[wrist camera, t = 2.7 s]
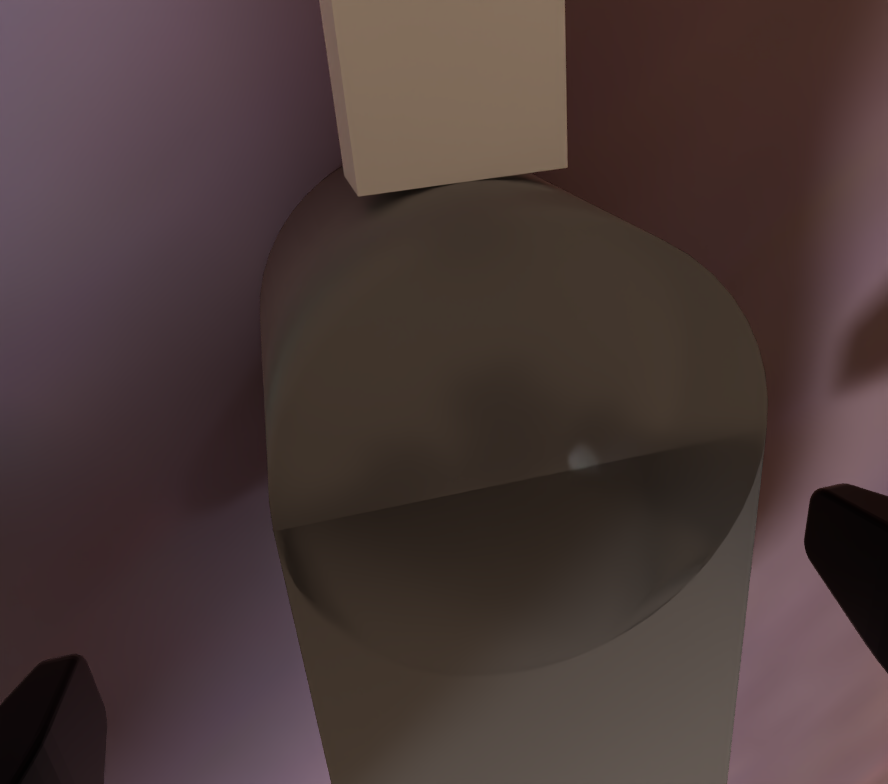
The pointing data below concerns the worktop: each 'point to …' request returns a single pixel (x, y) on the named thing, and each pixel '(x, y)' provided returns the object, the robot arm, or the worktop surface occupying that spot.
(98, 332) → the worktop surface
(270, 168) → the worktop surface
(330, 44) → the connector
